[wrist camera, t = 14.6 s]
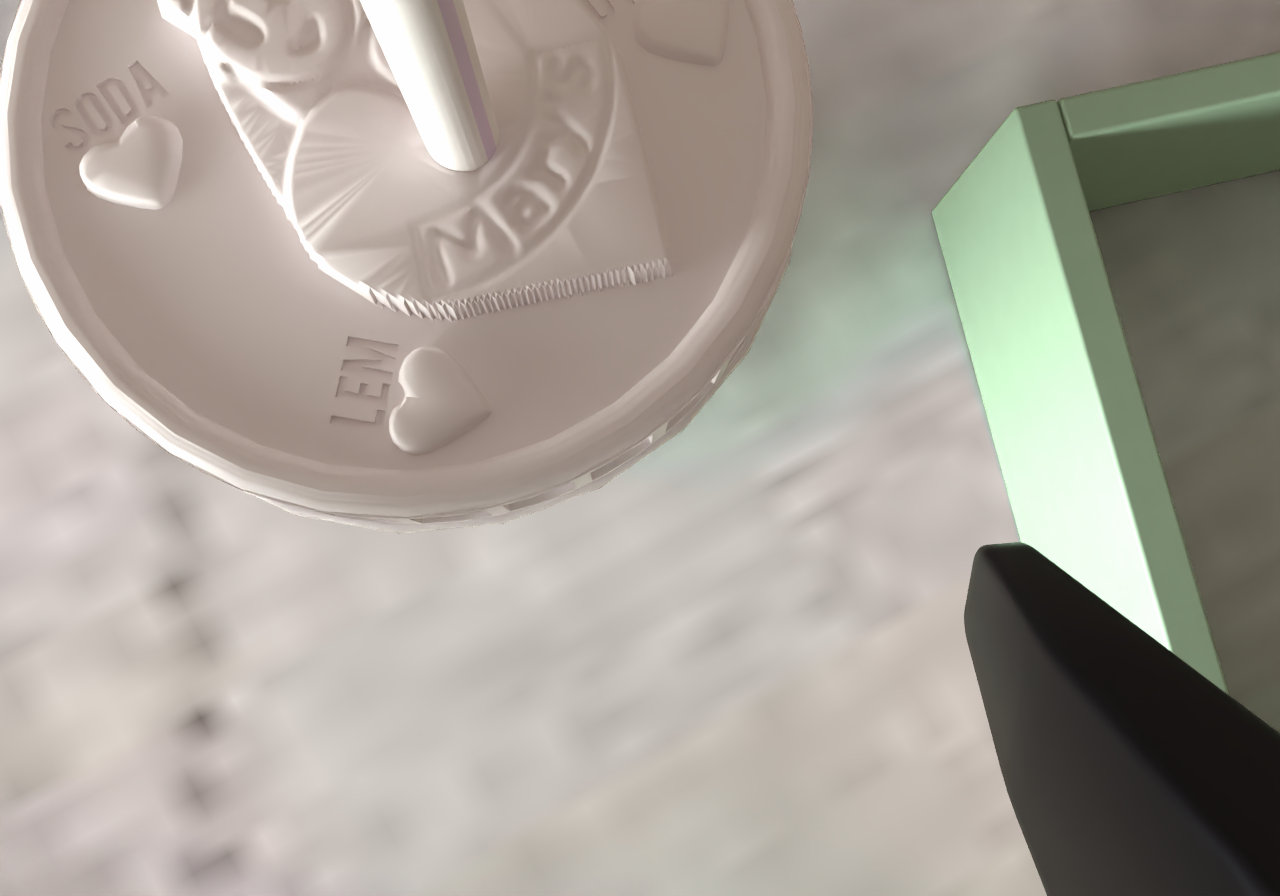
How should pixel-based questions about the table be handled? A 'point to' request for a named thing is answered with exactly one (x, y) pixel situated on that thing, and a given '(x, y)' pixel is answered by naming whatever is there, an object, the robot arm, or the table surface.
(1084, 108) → the green open tray
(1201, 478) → the table surface
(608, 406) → the smoothie
